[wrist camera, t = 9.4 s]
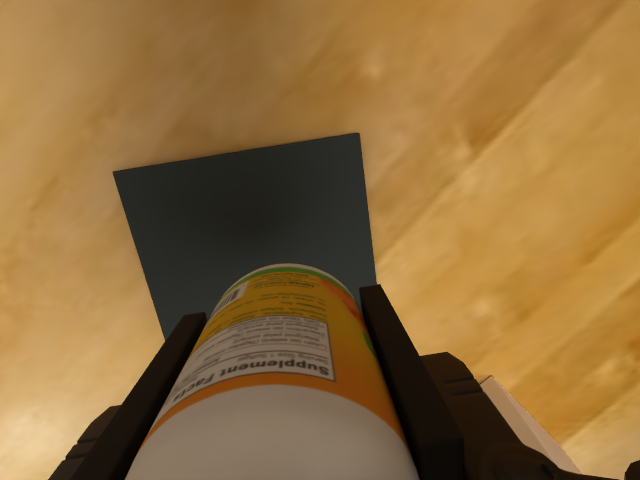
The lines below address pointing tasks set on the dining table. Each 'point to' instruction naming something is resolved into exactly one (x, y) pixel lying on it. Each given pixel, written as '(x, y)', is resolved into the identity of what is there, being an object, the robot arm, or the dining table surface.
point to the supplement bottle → (279, 391)
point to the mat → (248, 220)
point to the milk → (526, 425)
